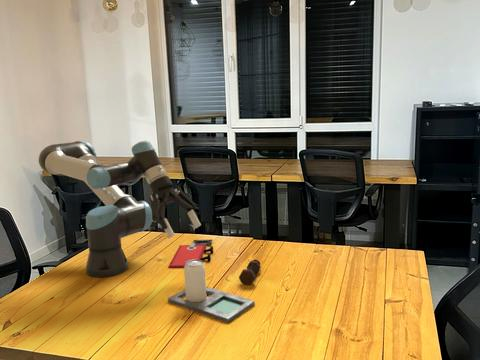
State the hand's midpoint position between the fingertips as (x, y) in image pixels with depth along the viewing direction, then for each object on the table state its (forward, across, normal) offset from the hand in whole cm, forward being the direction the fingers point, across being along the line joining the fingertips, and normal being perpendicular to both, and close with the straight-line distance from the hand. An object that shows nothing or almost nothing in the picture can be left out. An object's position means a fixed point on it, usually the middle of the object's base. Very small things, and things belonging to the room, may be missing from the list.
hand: (185, 231), depth 157 cm
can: (+22, -13, -4) cm, 26 cm away
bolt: (+25, +11, -8) cm, 29 cm away
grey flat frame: (+26, -13, -9) cm, 30 cm away
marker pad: (+29, -13, -14) cm, 35 cm away
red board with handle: (+7, +17, +19) cm, 27 cm away
